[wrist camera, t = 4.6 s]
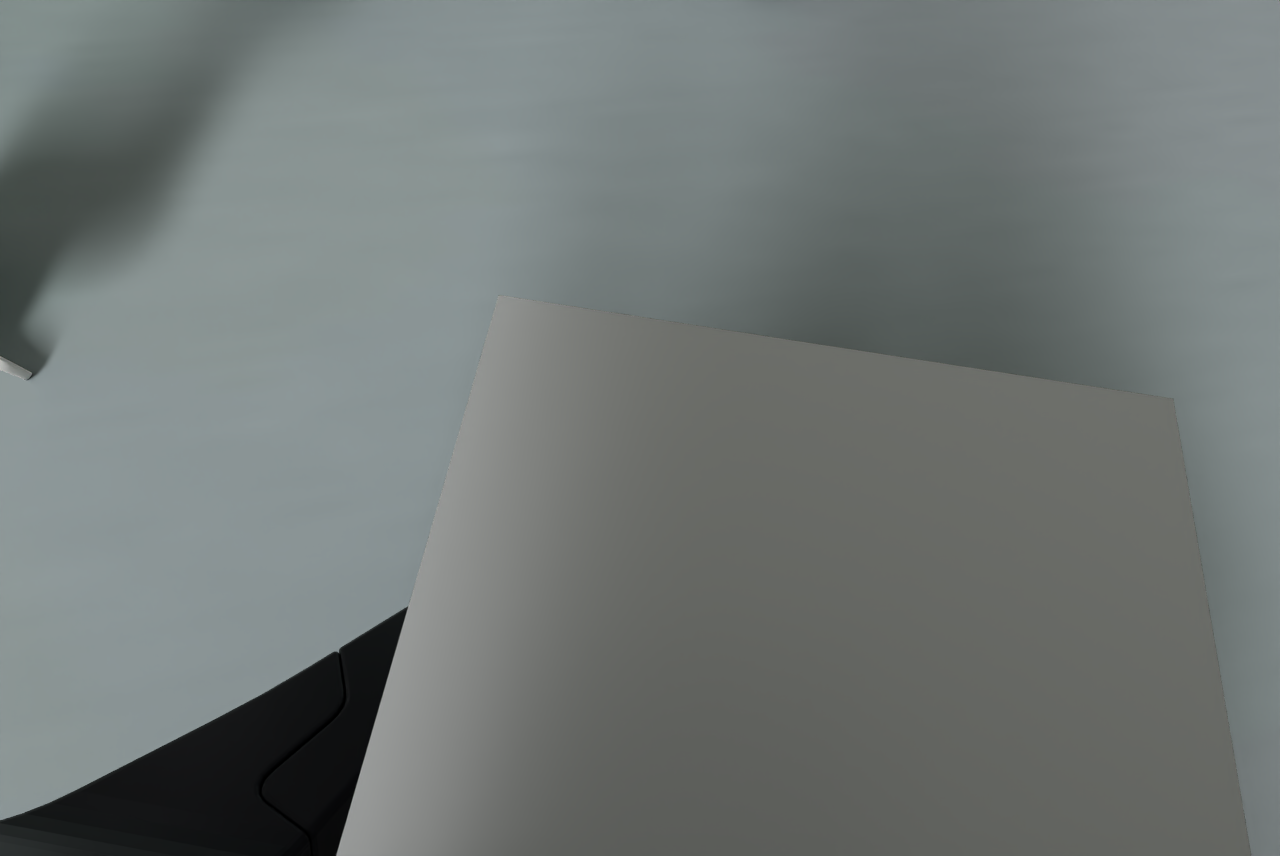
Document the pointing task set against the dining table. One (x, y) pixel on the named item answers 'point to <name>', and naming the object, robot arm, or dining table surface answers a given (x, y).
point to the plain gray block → (798, 612)
